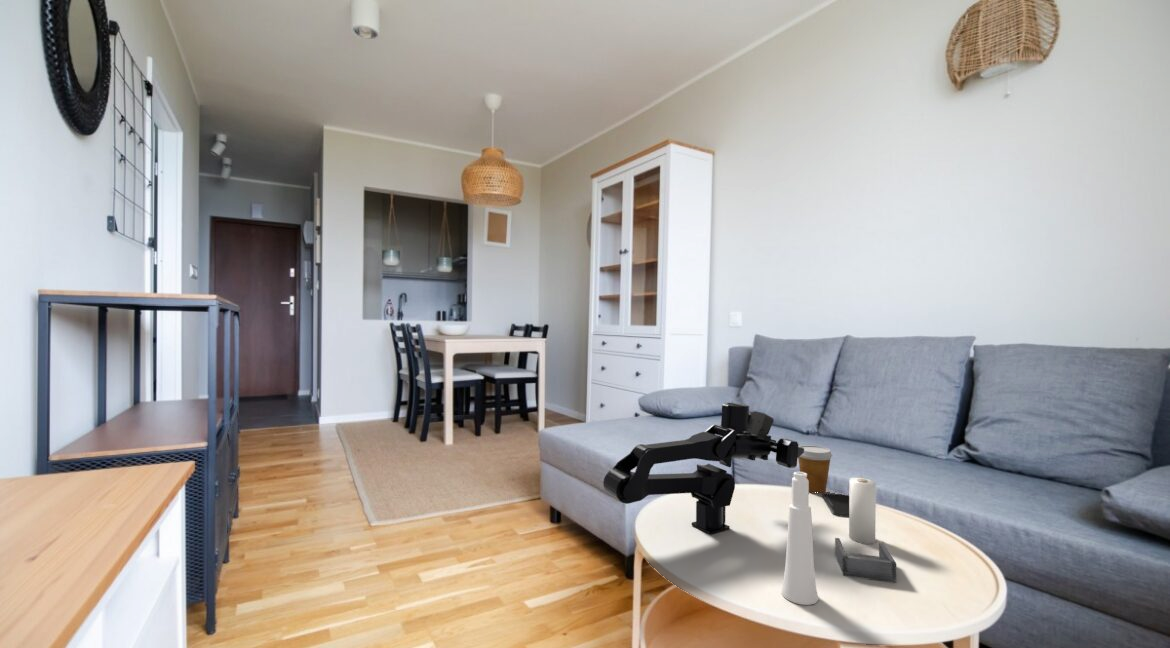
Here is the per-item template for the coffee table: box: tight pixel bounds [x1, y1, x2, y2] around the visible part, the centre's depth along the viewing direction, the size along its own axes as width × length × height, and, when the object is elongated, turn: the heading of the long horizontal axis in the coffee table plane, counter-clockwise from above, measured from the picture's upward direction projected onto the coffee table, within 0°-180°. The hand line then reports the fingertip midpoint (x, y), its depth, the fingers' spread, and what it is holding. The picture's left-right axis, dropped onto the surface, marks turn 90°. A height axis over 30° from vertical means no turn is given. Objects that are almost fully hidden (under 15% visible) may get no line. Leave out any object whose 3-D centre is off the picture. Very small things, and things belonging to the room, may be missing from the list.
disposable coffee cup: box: [797, 444, 833, 494], centre depth 147 cm, size 10×10×12 cm
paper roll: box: [848, 477, 877, 545], centre depth 114 cm, size 5×5×13 cm
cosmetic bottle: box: [781, 471, 819, 606], centre depth 90 cm, size 6×6×22 cm
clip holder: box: [834, 537, 897, 583], centre depth 101 cm, size 9×9×4 cm
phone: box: [821, 492, 849, 518], centre depth 134 cm, size 8×1×15 cm
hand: (789, 446), depth 131 cm, fingers open, 9 cm apart
